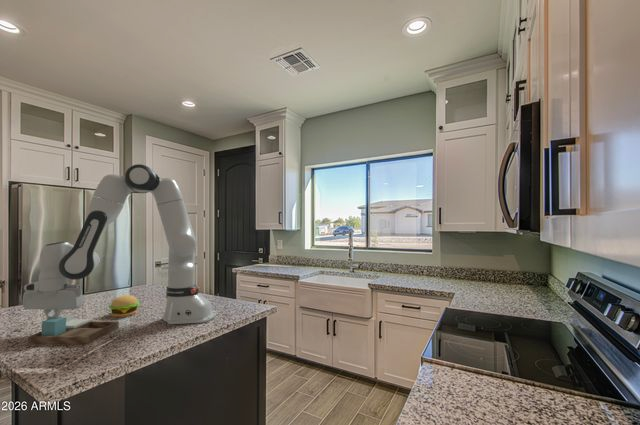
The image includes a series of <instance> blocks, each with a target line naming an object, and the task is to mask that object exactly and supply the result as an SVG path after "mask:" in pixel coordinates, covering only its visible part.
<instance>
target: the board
mask: <svg viewBox="0 0 640 425" xmlns="http://www.w3.org/2000/svg"><path fill="white" fill-rule="evenodd" d="M119 322H120V321H117V320H115V321H112V320H111V321H109V320H108V321H107V320H105V321H104V320H102V321H101V320H100V321H98V320H96V321H95V320H90V322H87V323H85V324H83V325H80V326H78V327H76V328H66V332H63V333H61V334H59V335H56V336H41V334H42V330H41V331H39V332H37V333H34V334H31V335H29V336H27V345H41V346H42V345H59V346H60V345H61V346H62V345H63V346H65V345H67V346H68V345H69V346H70V345H71V346H72V345H73V346H75V345H79V346H80V345H82V346H86V345H89V344H90V343H92V342H94V341H97V340H98V339H100V338H102V337H104V336H105V335H108V334H110V333H112V332H114V331H115V330H118V329H119V325H120V324H119Z"/></svg>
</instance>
